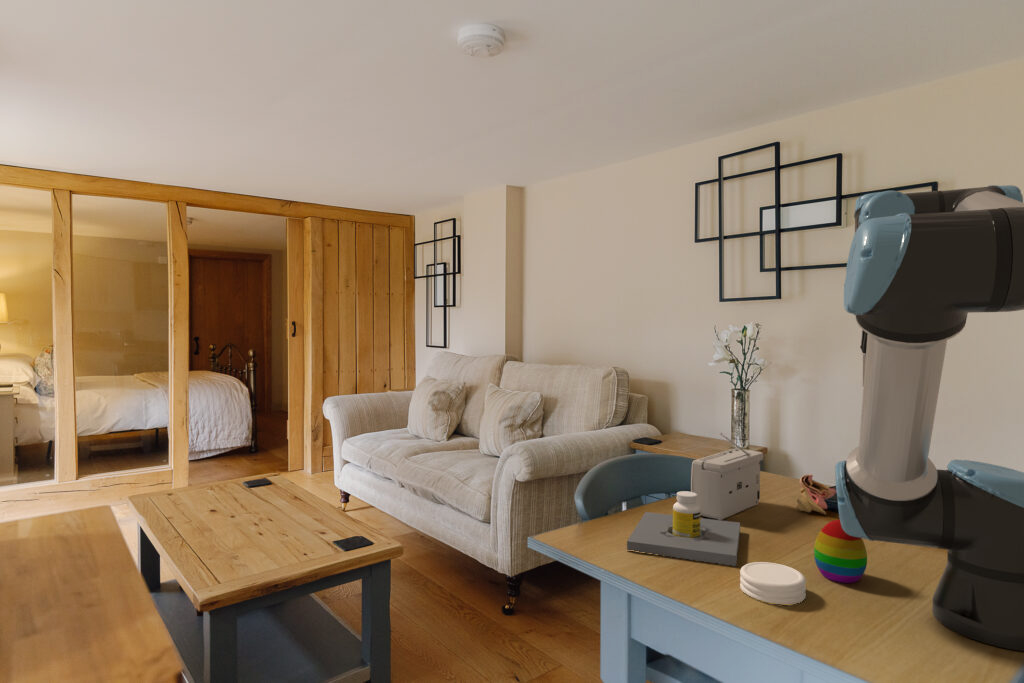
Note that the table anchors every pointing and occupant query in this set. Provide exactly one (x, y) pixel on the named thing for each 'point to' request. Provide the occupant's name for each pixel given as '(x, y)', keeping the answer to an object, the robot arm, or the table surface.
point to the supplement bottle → (686, 515)
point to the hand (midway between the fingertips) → (875, 390)
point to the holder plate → (687, 539)
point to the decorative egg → (839, 554)
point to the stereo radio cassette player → (726, 482)
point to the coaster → (773, 583)
